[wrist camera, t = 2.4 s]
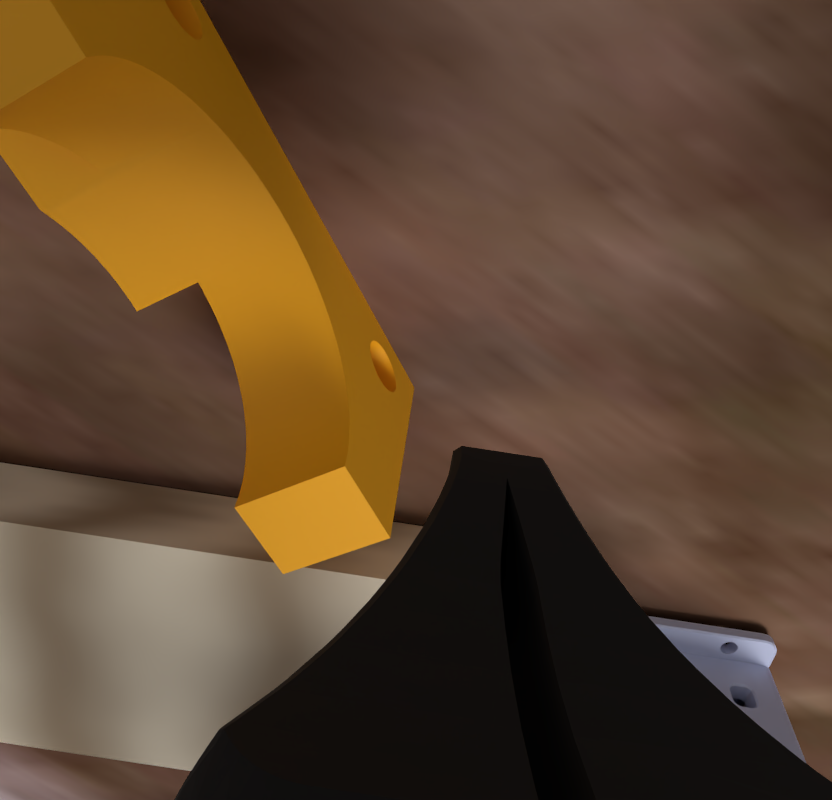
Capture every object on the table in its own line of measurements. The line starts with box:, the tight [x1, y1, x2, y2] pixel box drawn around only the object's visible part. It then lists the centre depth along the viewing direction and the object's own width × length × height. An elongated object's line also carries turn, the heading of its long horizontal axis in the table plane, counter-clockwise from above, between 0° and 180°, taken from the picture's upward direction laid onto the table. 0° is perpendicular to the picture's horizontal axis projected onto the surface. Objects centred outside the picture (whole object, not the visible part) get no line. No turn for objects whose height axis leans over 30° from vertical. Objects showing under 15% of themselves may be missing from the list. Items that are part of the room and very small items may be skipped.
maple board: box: [0, 462, 423, 771], centre depth 25 cm, size 24×10×3 cm, turn 83°
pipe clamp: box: [0, 0, 414, 574], centre depth 17 cm, size 12×4×6 cm, turn 26°
